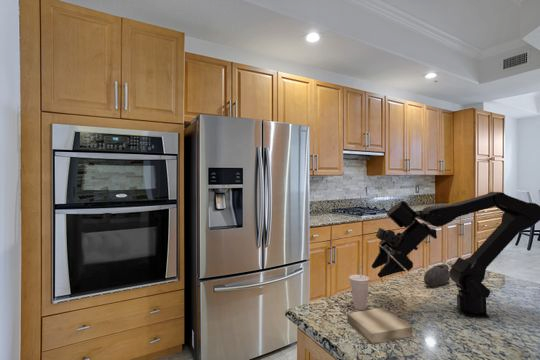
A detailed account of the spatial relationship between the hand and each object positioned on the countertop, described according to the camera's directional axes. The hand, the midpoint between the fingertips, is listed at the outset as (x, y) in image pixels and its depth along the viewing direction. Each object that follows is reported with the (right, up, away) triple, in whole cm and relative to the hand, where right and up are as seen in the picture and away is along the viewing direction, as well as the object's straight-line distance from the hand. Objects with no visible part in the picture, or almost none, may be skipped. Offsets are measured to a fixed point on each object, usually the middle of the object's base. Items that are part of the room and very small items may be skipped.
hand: (375, 271), depth 91 cm
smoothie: (-5, -12, +1) cm, 13 cm away
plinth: (-4, -12, -13) cm, 18 cm away
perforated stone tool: (+31, -12, +20) cm, 39 cm away
